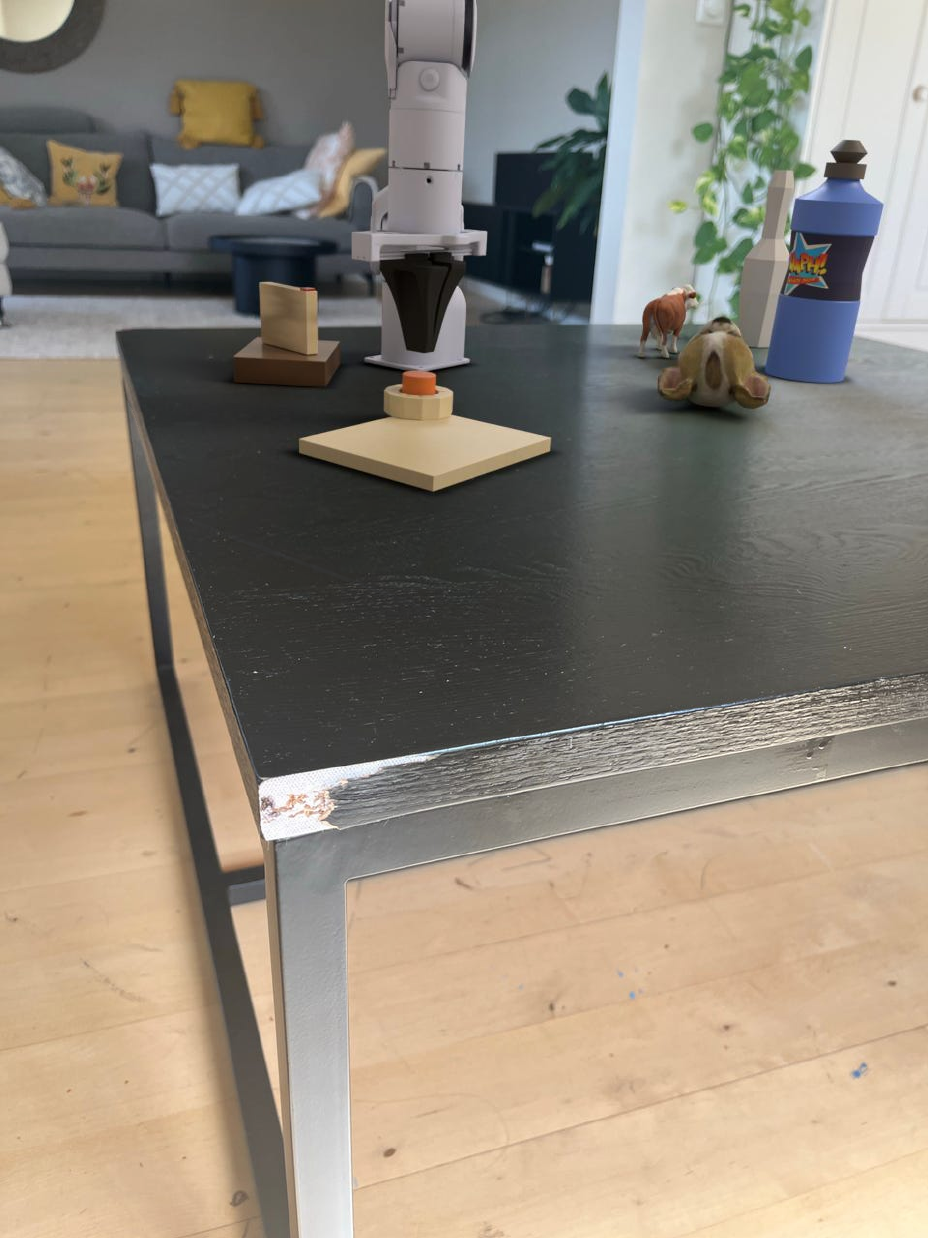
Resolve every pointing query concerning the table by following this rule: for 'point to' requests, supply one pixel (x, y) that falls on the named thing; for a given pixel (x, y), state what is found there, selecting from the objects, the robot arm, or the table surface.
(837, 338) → the water bottle
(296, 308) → the light wood flat panel
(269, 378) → the stand
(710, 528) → the table surface
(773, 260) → the low poly bottle
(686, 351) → the ceramic sculpture
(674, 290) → the bull figurine
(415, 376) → the button
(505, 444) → the beige button base
